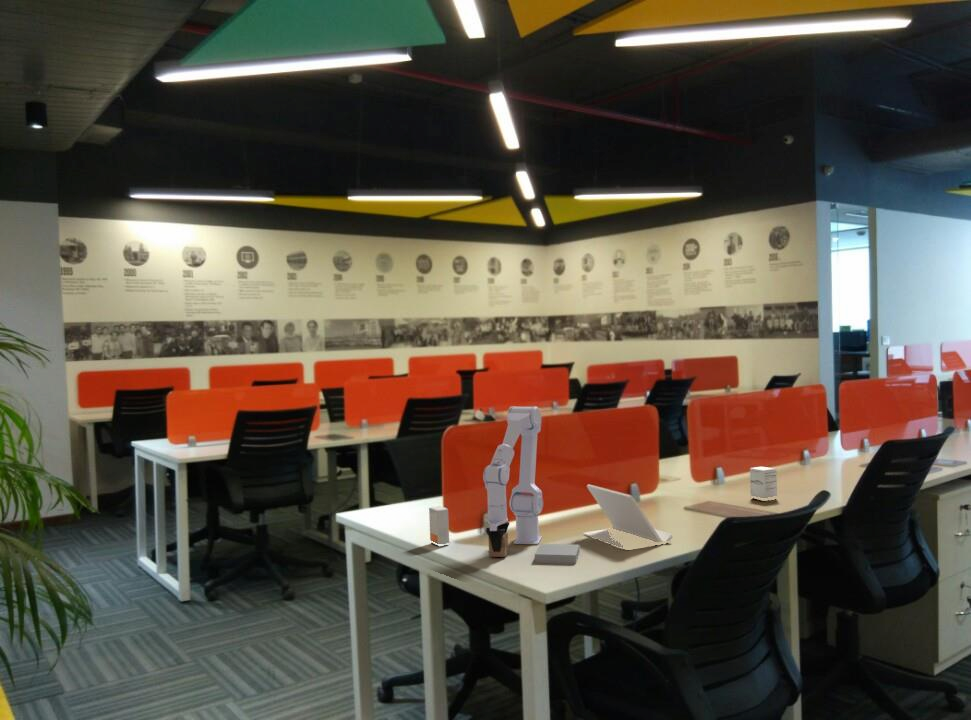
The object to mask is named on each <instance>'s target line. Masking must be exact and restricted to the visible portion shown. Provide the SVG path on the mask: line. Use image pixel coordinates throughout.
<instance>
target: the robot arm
mask: <svg viewBox="0 0 971 720" xmlns="http://www.w3.org/2000/svg"><path fill="white" fill-rule="evenodd" d="M506 420H507V427H506V431H505V434H504V438H503V441H502V444H499V445H497V448H496V449H495V452H494V454H493V456H492V458H491V462H490V464H489V465H487V466H486V467H485V468H484V470H483V473H482V474H483V475H482V479H483V482H484V488H485V490H486V491H487V514H488V515H487V517H486V518H484V519H483V520H484V522H487V523H488V525H489V527H486V528H485V532H486V534H487V536H488V539H489V538H490V541H491V545H492V549H493V552H500V551H501V545H502V537H503V534H504V533H508V528H509V526H510V522H509V521H508V520H509V519H508V512H507V511H508V509H507V508H508V507H507V504H508V503H507V484H508V482H509V480H510V470H511V468H510V466H511V463H512V461H513V458H514V456H515V449H514V447H515V446H516V443H517V441H518V439H519V437H520V435H521V445H520V461H519V462H520V464H519V479H518V484H517V485H516V486H514V487H513V488H512V489H511V495H510V499H509V509H510V510H511V511H512V513H513V515H514V516H515V534H516V537H515V540H514V541H513V545H539V544H540V541H541V540H542V538H543V536H542V535H540V531H539V528H540V527H539V526H540V525H539V515H540V514H541V512H542V510H543V507H544V499H543V491H542V490H541V489H540V488H539V487H538V486H537V485H536V483H535V481H536V480H535V478H536V468H537V467H536V465H537V450H538V449H537V447H538V445H537V443H538V434H539V433H540V432H541V430H542V429H541V428H542V413H541V409H540V408H539V407H538V406H534V405H533V406H514V405H512V406H510V407H509V408H508V410H507V413H506Z"/></svg>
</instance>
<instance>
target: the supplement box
mask: <svg viewBox="0 0 971 720" xmlns="http://www.w3.org/2000/svg"><path fill="white" fill-rule="evenodd" d="M777 474H778V471H777V468H773V467H766V466H755V467H750V468H749V483H750V484H749V485H750V487H749V488H750V489H749V491H750V495H751V496H756V497H760V498H768V497H773V496H777V497H778V477H777ZM751 496H750V497H751Z"/></svg>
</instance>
